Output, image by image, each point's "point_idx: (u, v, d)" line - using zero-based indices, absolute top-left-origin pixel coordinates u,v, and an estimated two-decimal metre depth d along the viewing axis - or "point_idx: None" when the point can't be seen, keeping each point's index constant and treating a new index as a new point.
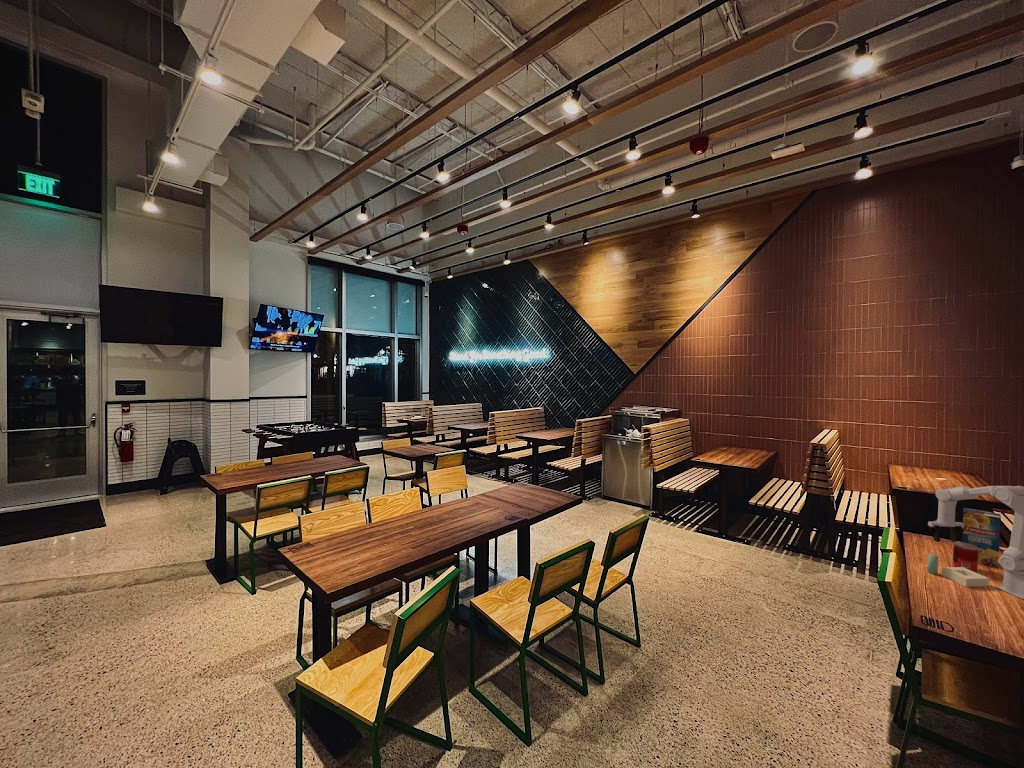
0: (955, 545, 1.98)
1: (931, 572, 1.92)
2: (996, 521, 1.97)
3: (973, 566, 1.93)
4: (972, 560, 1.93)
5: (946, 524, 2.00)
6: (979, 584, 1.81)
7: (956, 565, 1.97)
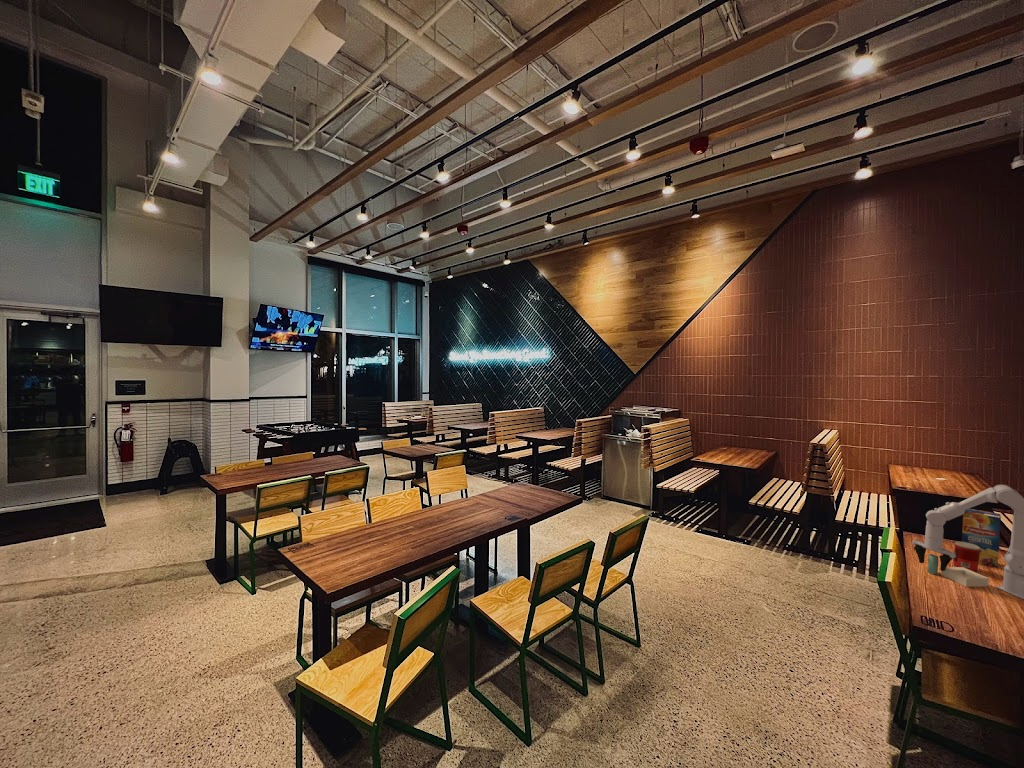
0: (956, 544, 1.98)
1: (931, 572, 1.92)
2: (996, 521, 1.97)
3: (973, 566, 1.93)
4: (972, 560, 1.93)
5: (924, 545, 1.93)
6: (979, 584, 1.81)
7: (956, 564, 1.97)
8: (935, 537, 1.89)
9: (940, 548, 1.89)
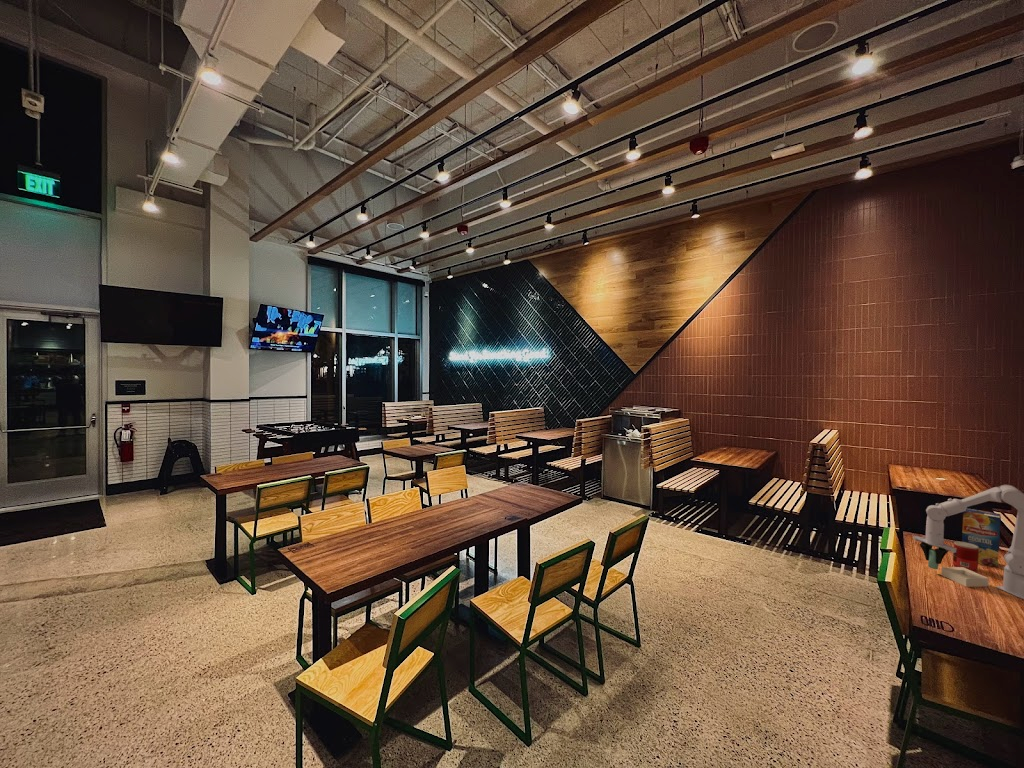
0: (955, 544, 1.98)
1: (932, 566, 1.91)
2: (996, 521, 1.97)
3: (972, 566, 1.93)
4: (971, 559, 1.93)
5: (925, 541, 1.93)
6: (979, 584, 1.81)
7: (955, 564, 1.98)
8: (936, 532, 1.89)
9: (941, 543, 1.89)
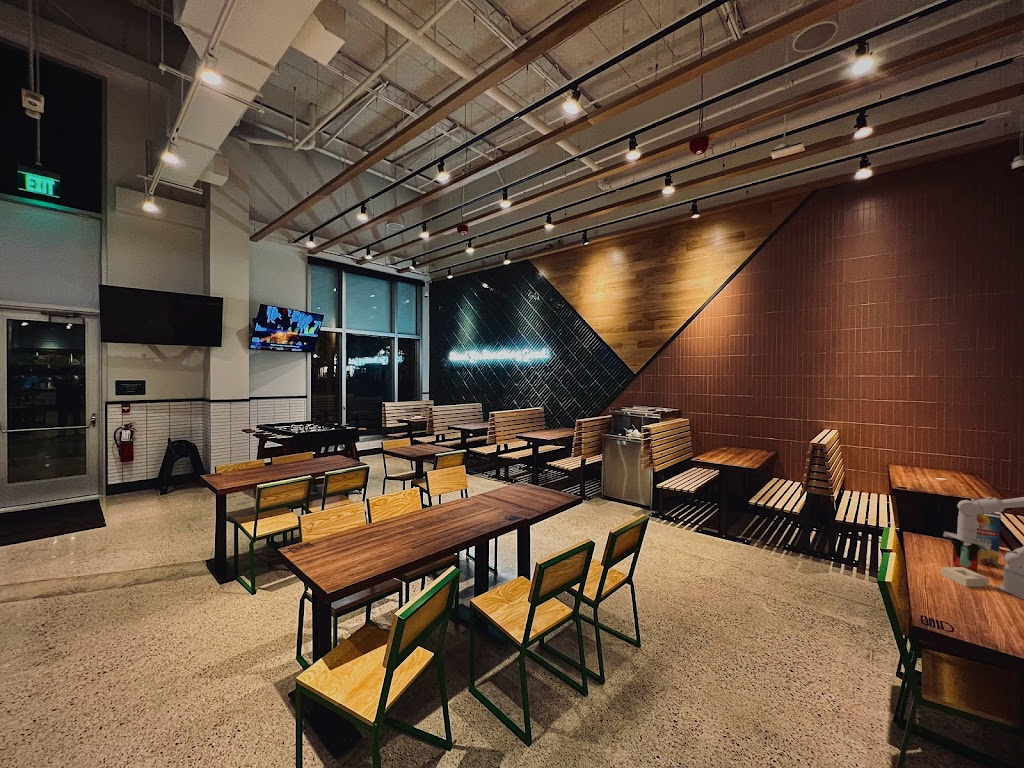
0: None
1: (964, 563, 1.85)
2: (996, 521, 1.97)
3: (972, 566, 1.93)
4: None
5: (957, 537, 1.86)
6: (979, 584, 1.81)
7: (955, 564, 1.98)
8: (969, 528, 1.82)
9: (974, 539, 1.82)
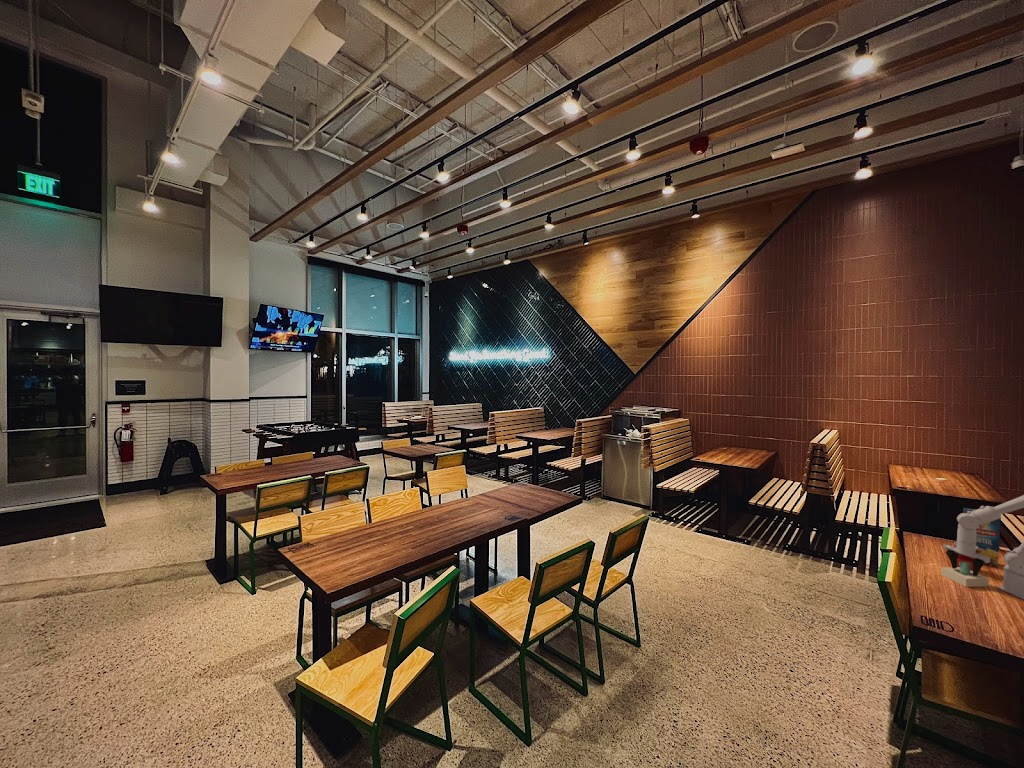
0: (954, 544, 1.98)
1: None
2: (996, 521, 1.97)
3: (972, 566, 1.93)
4: (970, 560, 1.93)
5: (956, 550, 1.86)
6: (979, 584, 1.81)
7: None
8: (968, 541, 1.82)
9: (973, 552, 1.82)
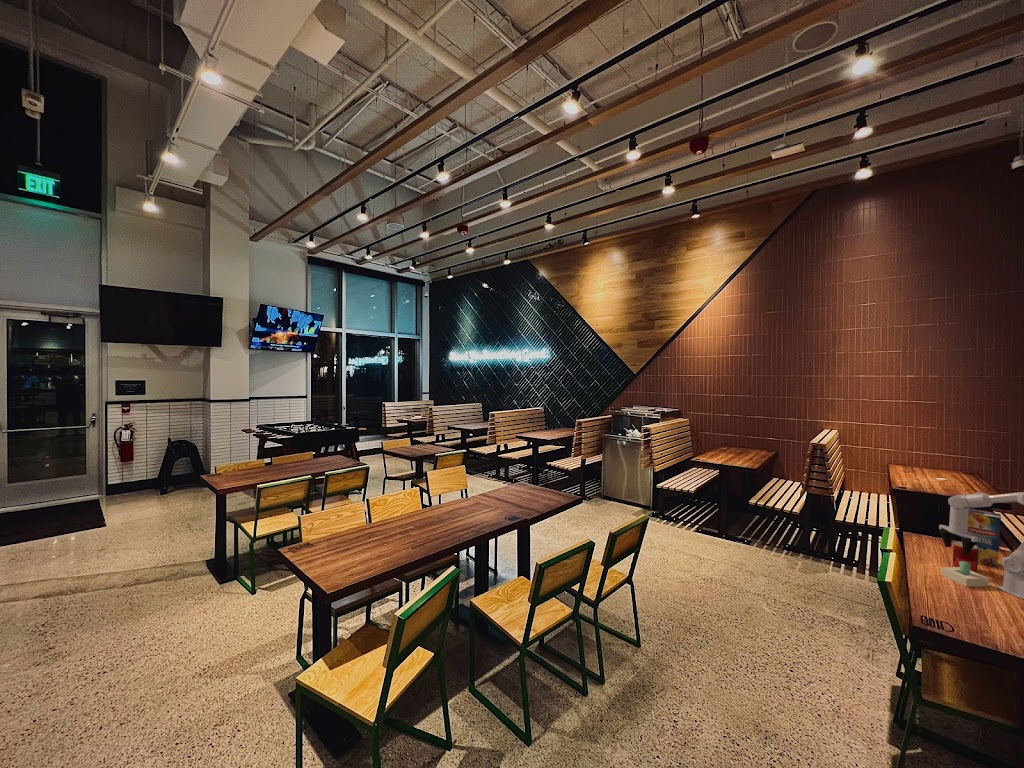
0: (954, 544, 1.99)
1: None
2: (996, 521, 1.97)
3: (971, 566, 1.93)
4: (969, 560, 1.94)
5: (948, 529, 1.94)
6: (979, 584, 1.81)
7: (954, 564, 1.98)
8: (956, 520, 1.91)
9: (963, 532, 1.90)
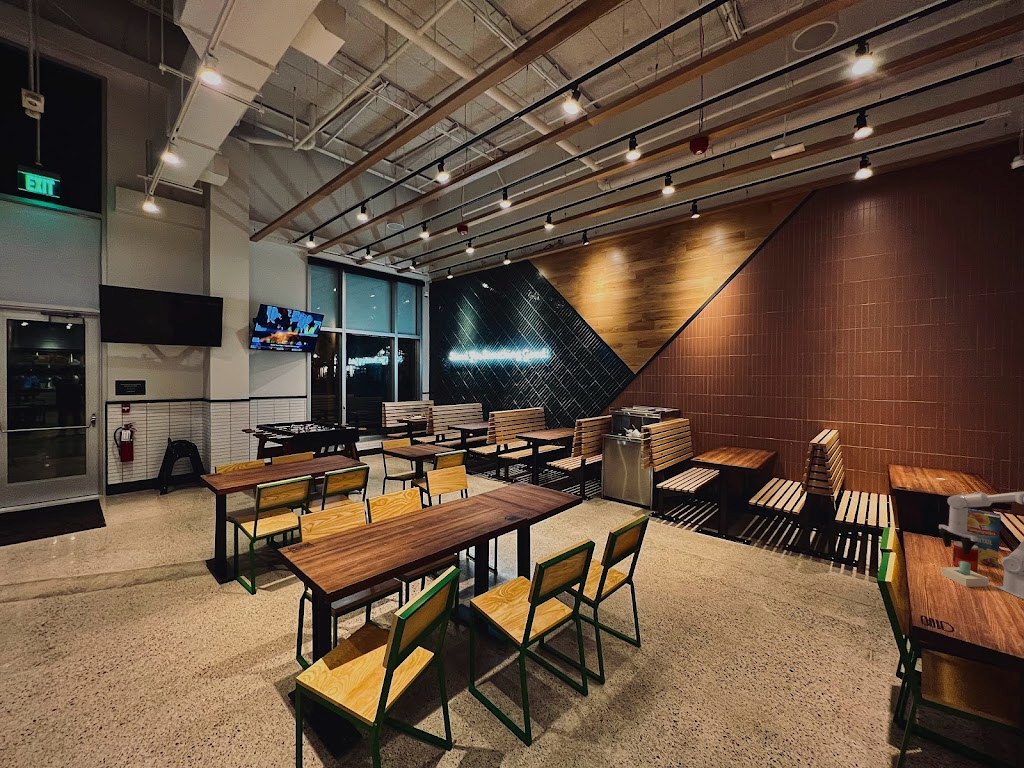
0: (954, 544, 1.99)
1: None
2: (996, 521, 1.97)
3: (971, 566, 1.93)
4: (969, 560, 1.94)
5: (948, 529, 1.95)
6: (979, 584, 1.81)
7: (954, 564, 1.98)
8: (955, 520, 1.91)
9: (963, 532, 1.90)
